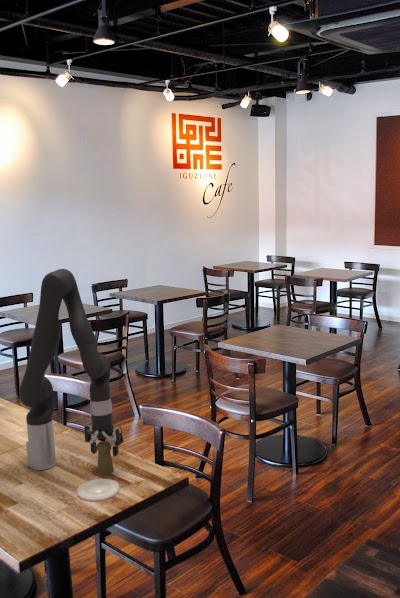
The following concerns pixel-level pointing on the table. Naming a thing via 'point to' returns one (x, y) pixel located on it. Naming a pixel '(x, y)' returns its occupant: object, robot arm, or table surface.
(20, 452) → the table surface
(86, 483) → the cream plate
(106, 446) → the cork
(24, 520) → the table surface
